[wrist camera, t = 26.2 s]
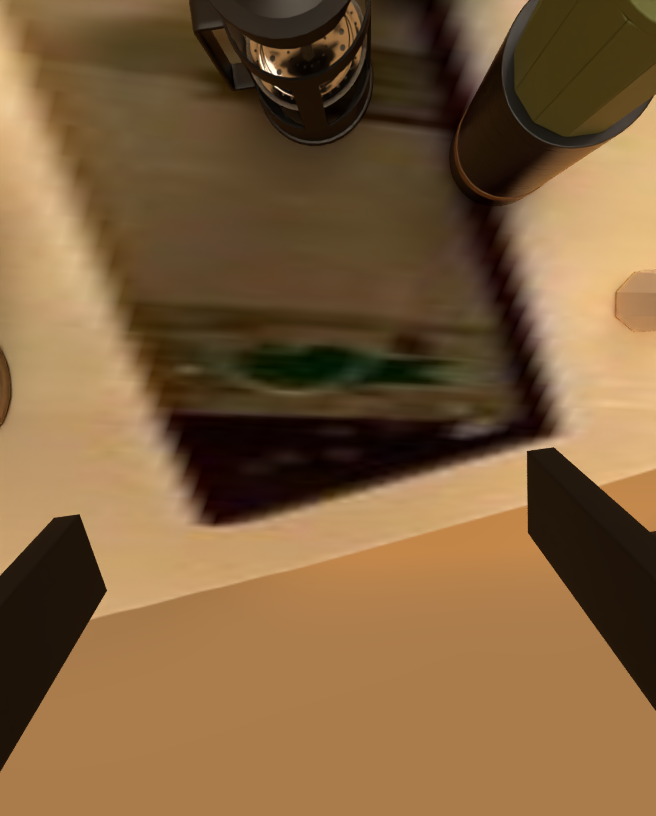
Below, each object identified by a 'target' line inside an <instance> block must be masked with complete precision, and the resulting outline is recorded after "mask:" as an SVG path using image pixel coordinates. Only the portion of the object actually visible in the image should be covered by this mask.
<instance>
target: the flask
mask: <svg viewBox="0 0 656 816" xmlns="http://www.w3.org/2000/svg"><path fill="white" fill-rule="evenodd" d="M538 2H539V0H529V1H528V2H527V3H526V4H525V6H524V7H523V8H522V10H521V11H520V13H519V14H518V15H517V17H516V19H515V21H514V22H513V24H512V26H511V28H510V30H509V32H508V34H507V36H506V37H505V39H504V41H503V43H502V45H501V47H500V49H499V51H498V53H497V55H496V56H495V58H494V60H493V62H492V64H491V66H490V68H489V70H488V72H487V73H486V75H485V77H484V79H483V81H482V83H481V85H480V87H479V89H478V91H477V92H476V94H475V96H474V98H473V100H472V102H471V104H470V106H469V107H468V109H467V110H466V112H465V114H464V115H463V117H462V119H461V121H460V123H459V126H458V128H457V130H456V132H455V135H454V137H453V140H452V144H451V148H450V167H451V172H452V175H453V178H454V180H455V182H456V184H457V185H458V187H459V188H460V190H461V191H462V192H463V193H464V194H465V195H466V196H468V197H469V198H470V199H472V200H474V201H475V202H478V203H480V204H484V205H488V206H502V205H507V204H510V203H513V202H516V201H518V200H520V199H521V198H523V197H524V196H526V195H528V194H530V193H532V192H533V191H535V190H537V189H538V188H540V187H541V186H542V185H543V184H545V183H546V182H547V181H549V180H550V179H552V178H553V177H555V176H556V175H558V174H559V173H561V172H562V171H564V170H565V169H567V168H568V167H570V166H571V165H573V164H574V163H576V162H577V161H579V160H581V159H582V158H584V157H585V156H587V155H588V154H590V153H591V152H593V151H594V150H596V149H597V148H599V147H600V146H602V145H603V144H605V143H606V142H608V141H609V140H611V139H612V138H614V137H615V136H617V135H618V134H620V133H621V132H623V131H624V130H625V129H626V128H628V127H629V126H630V125H631V124H632V123H633V122H634V121H635V120H636V119H637V118H638V117H639V116H640V115H641V114H642V113H643V111H644V110H645V109H646V108H647V106H648V104H649V103H650V101H651V100H652V98H653V97H651V98H650V99H649V100H647V101H646V102H644V103H643V104H642V105H640V106H639V107H637V108H636V109H635V110H633V111H632V112H630V113H629V114H628V115H626V116H625V117H623V118H622V119H621V120H619V121H618V122H616V123H615V124H614V125H612V126H611V127H609V128H608V129H607V130H605V131H604V132H601V133H597V134H589V135H581V136H573V137H563V136H561V135H559V134H557V133H554V132H552V131H550V130H548V129H546V128H544V127H542V126H540V125H538V124H536V123H534V121H532V119H531V118H530V116H529V114H528V113H527V111H526V109H525V108H524V106H523V104H522V103H521V101H520V99H519V97H518V96H517V94H516V92H515V90H514V51H515V47H516V45H517V43H518V41H519V39H520V37H521V35H522V33H523V30H524V28H525V26H526V24H527V22H528V20H529V18H530V16H531V14H532V12H533V10H534V9H535V7H536V5H537V3H538Z"/></svg>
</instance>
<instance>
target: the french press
mask: <svg viewBox="0 0 656 816" xmlns="http://www.w3.org/2000/svg"><path fill="white" fill-rule="evenodd" d="M189 5H190V12H191V19H192V26H193V31H194V34H195V36H196V37H197V39H198V40H199V42H200V43H201V45H202V46H203V48H204V49H205V51H206V53H207V54H208V56H209V57H210V59H211V60H212V62H213V63H214V65H215V66H216V68H217V70H218V71H219V73H220V74H221V76H222V77H223V79H224V80H225V82H226V83H227V85H228V87H229V88H230V89H231V90H232V91H237V90H244V89H250V88H256V89H257V92H258V94H259V97H260V102H261V104H262V107H263V109H264V112H265V114H266V116H267V117H268V119H269V120H270V122H271V123H272V125H273V126H274V127H275V128H276V129H277V130H278V131H279V132H280V133H281V134H282V135H284V136H285V137H287V138H288V139H290V140H292V141H294V142H297V143H299V144H304V145H309V146H316V145H325V144H329V143H332V142H334V141H337V140H339V139H341V138H343V137H344V136H345V135H347V134H348V133H349V132H351V131H352V130H353V129H354V127H355V126H356V125H357V124H358V123H359V122H360V120H361V119H362V117H363V115H364V114H365V112H366V110H367V107H368V104H369V102H370V99H371V94H372V89H373V70H372V63H371V59H370V52H371V0H366V13H365V17H364V18H363V15H362V12H361V9H360V7H359V5H358V4H357V2H356V0H189ZM222 28H225V30H226V33H227V35H228V38H229V40H230V42H231V44H232V46H233V48H234V49H235V51H236V53H237V54H238V56H239V57H240V59H241V61H242V62H243V63H237V64H231V63H230V62H229V60H228V58H227V57H226V55H225V53H224V51H223V50H222V48H221V46H220V45H219V43H218V41H217V39H216V38H215V36H214V34H213V32H212V31H211V30H216V29H222ZM242 34H244V35H245V36H246V41H245V39H244V37H243V35H242ZM356 79H357V86H356V92H355V95H354V97H353V100H352V102H351V104H350V105H349V107H348V109H347V110H346V111H345V112H344V113H343V114H342V116H340V117H339V118H338V119H336V120H335V121H333V122H331V123H329V124H328V123H327V119H326V115H325V110H324V108H326V107H328V106H330V105H331V104H333V103H335V102H336V101H337V100H338V99H340V98H341V97H342V96H343V95H345V93H346V92H347V91H348V90H349V89H350V88H351V87H352V85H353V84H354V82H355V81H356ZM278 104H279V105H282V106H284V107H286V108H289V109H293V110H297V111H299V112H300V115H301V118H302V121H303V124H304V125H301V124H299V123H296V122H294V121H293V120H292V119H290V118H289V117H288V116H287V115H286V114H285V113H284V112H283V111H282V109H281V108H280V106H279V105H278Z"/></svg>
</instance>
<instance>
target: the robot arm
mask: <svg viewBox="0 0 656 816" xmlns="http://www.w3.org/2000/svg"><path fill="white" fill-rule="evenodd" d="M9 401H10V377H9V371H8V368H7V364H6V361H5V358H4V356H3V353H2V351H1V349H0V425H1V424H2V422H3V420H4V418H5V416H6V413H7V410H8V406H9ZM527 491H528V533H529V535H530V536H531V538H532V539H533V541H534V542H535V543H536V545H537V546H538V547H539V549H540V550H541V552H542V553H543V554H544V556H545V557H546V559H547V560H548V561H549V563H550V564H551V565H552V567H553V568H554V570H555V571H556V573H557V574H558V575H559V577H560V578H561V579H562V581H563V582H564V584H565V585H566V586H567V588H568V589H569V590H570V592H571V593H572V595H573V596H574V597H575V599H576V600H577V602H578V603H579V604H580V606H581V607H582V609H583V610H584V612H585V613H586V614H587V616H588V617H589V618H590V620H591V621H592V623H593V624H594V625H595V627H596V628H597V630H598V631H599V632H600V634H601V635H602V637H603V638H604V639H605V641H606V642H607V643H608V645H609V646H610V647H611V649H612V650H613V652H614V653H615V655H616V656H617V657H618V659H619V660H620V661H621V663H622V664H623V666H624V667H625V668H626V670H627V671H628V673H629V674H630V676H631V677H632V678H633V680H634V681H635V682H636V684H637V685H638V687H639V688H640V689H641V691H642V692H643V694H644V695H645V696H646V698H647V699H648V701H649V702H650V703H651V705H652V706H653V708H654V709H655V710H656V531H654V532H649V531H648V530H647V529H646V528H645V527H644V526H642V525H641V524H640V523H639V522H638V521H637V520H635V519H634V518H633V517H632V516H631V515H630V514H629V513H628V512H627V511H625V510H624V509H623V508H622V507H621V506H620V505H619V504H617V503H616V502H615V501H614V500H613V499H612V498H611V497H609V496H608V495H607V494H606V493H605V492H604V491H603V490H601V489H600V488H599V487H598V486H597V485H596V484H595V483H594V482H593V481H591V480H590V479H589V478H588V477H587V476H586V475H585V474H583V473H582V472H581V471H580V470H579V469H578V468H577V467H576V466H574V465H573V464H572V463H571V462H570V461H569V460H568V459H566V458H565V457H564V456H563V455H562V454H561V453H560V452H559V451H557V450H556V449H555V448H554V447H553V448H546V449H538V450H531V451H527ZM106 591H107V589H106V587H105V584H104V581H103V578H102V576H101V573H100V570H99V567H98V564H97V562H96V559H95V556H94V553H93V550H92V548H91V545H90V542H89V539H88V537H87V534H86V531H85V528H84V525H83V523H82V520H81V517H80V514H78V515H71V516H64V517H57V518H54V519H53V520H52V521H51V522H50V523H49V524H48V525H47V526H46V527H45V528H44V529H43V530H42V531H41V532H40V534H39V535H38V536H37V537H36V538H35V539H34V540H33V541H32V542H31V543H30V544H29V545H28V546H27V548H26V549H25V550H24V551H23V552H22V553H21V554H20V555H19V556H18V557H17V558H16V559H15V560H14V562H13V563H12V564H11V565H10V566H9V567H8V568H7V569H6V570H5V571H4V572H3V573H2V574H1V576H0V771H1V769H2V768H3V766H4V764H5V763H6V761H7V759H8V758H9V756H10V754H11V753H12V751H13V749H14V748H15V746H16V744H17V742H18V741H19V739H20V737H21V736H22V734H23V732H24V731H25V729H26V727H27V725H28V724H29V722H30V720H31V719H32V717H33V715H34V713H35V712H36V710H37V708H38V707H39V705H40V703H41V702H42V700H43V698H44V696H45V695H46V693H47V692H48V690H49V688H50V686H51V685H52V683H53V681H54V680H55V678H56V676H57V674H58V673H59V671H60V669H61V668H62V666H63V664H64V663H65V661H66V659H67V658H68V656H69V654H70V652H71V651H72V649H73V647H74V646H75V644H76V642H77V641H78V639H79V637H80V636H81V634H82V632H83V630H84V629H85V627H86V625H87V623H88V622H89V620H90V619H91V617H92V615H93V613H94V612H95V610H96V608H97V607H98V605H99V603H100V602H101V600H102V598H103V596H104V595H105V593H106Z"/></svg>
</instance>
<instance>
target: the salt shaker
mask: <svg viewBox="0 0 656 816" xmlns="http://www.w3.org/2000/svg"><path fill="white" fill-rule="evenodd" d="M616 317H617V318H618V319H619V320H620V321H622V322H623V323H624V324H625V325H626V326H628V327H629V328H630V329H631V330H632V331H634V332H644V331H656V269H655V270H647V271H639V272H634V273H633V274H632V275H631V276H630V278H629V279H628V280H627V281H626V282H625V283H624V284H623V285H622V286H621V287H620V289H619V290H618V291H617V292H616Z"/></svg>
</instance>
